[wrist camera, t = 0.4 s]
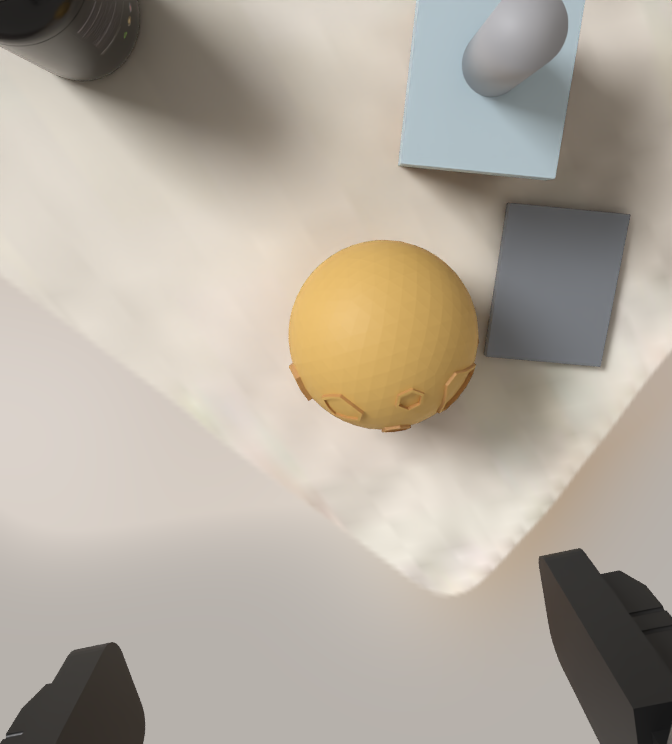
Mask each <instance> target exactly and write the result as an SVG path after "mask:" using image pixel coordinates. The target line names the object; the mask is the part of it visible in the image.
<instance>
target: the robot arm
mask: <svg viewBox="0 0 672 744" xmlns="http://www.w3.org/2000/svg"><path fill="white" fill-rule="evenodd" d="M539 569H540V575H541V581H542V587H543V593H544V598H545V605H546V611H547V618H548V624H549V629H550V634H551V638H552V641H553V645H554V648H555V651H556V653H557V657H558V659H559V662H560V664H561V666H562V668H563V670H564V672H565V674H566V676H567V678H568V680H569V682H570V684H571V686H572V688H573V690H574V692H575V694H576V696H577V698H578V700H579V702H580V704H581V706H582V708H583V710H584V712H585V714H586V716H587V718H588V720H589V722H590V724H591V726H592V728H593V731H594V732H595V734H596V736H597V739H598V740H599V742H600V744H672V617H671V615H670V614H669V613H668V612H667V611H665V610H664V609H663V606H662V605H661V603H660V602H659V601H658V600H657V599H656V597H655V596H654V595H653V594H652V592H651V591H650V590H649V589H648V588H647V586H646V585H644V584H642V583H641V582H639V581H637V580H635V579H634V578H632V577H630V576H628V575H627V574H625V573H623V572H621V571H614V572H609V573H604V574H600V573H599V572H598V570H597V569H596V567H595V566H594V565H593V563H592V562H591V560H590V559H589V558H588V556H587V555H586V554H585V552H584V551H583V550H582V549H580V548H578V549H573V550H569V551H564V552H559V553H554V554H549V555H544V556H540V557H539ZM144 735H145V717H144V711H143V707H142V704H141V702H140V698H139V696H138V693H137V691H136V688H135V685H134V683H133V680H132V677H131V675H130V672H129V669H128V667H127V664H126V662H125V659H124V656H123V653H122V651H121V649H120V647H119V646H118V645H117V644H116V643H113V642H111V643H106V644H102V645H96V646H92V647H86V648H82V649H77V650H74V651H72V652H71V653H70V654H69V655H68V657H67V658H66V660H65V662H64V664H63V666H62V667H61V669H60V670H59V672H58V674H57V675H56V677H55V679H54V680H53V682H52V683H51V684H46V685H45V686H44V687H43V688H42V689H41V690H40V691H39V692H38V693H37V694H36V695H35V696H34V697H33V698H32V699H31V700H30V701H29V702H28V703H27V704H26V705H25V706H24V707H23V708H22V709H21V711H20V712H19V714H18V716H17V717H16V719H15V720H14V722H13V724H12V725H11V727H10V728H9V730H8V732H7V733H6V739H3V740H2V741H1V743H0V744H143V741H144Z"/></svg>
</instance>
